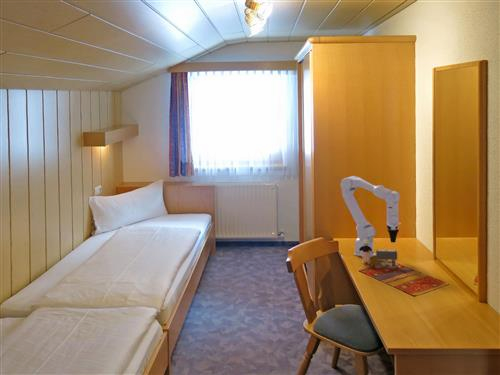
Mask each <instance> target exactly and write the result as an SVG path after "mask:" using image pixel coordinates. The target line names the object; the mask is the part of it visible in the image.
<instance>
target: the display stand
mask: <svg viewBox="0 0 500 375" xmlns="http://www.w3.org/2000/svg"><path fill="white" fill-rule="evenodd" d="M376 260H377V262H374V268H375V269H399V266H398V262H396V260H391V262H389V261H388V260H385V259H384V262H382V259H376Z"/></svg>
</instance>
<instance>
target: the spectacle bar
mask: <svg viewBox="0 0 500 375" xmlns="http://www.w3.org/2000/svg"><path fill="white" fill-rule="evenodd" d="M375 252H376V253H375V254H376V255H375V256H376V257H375V258H376V260H377V259H381V260H384V261H385V260H390V261H392V260H395V261H396V260H397V261H398V250H394V249H376V250H375Z"/></svg>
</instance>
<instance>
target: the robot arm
mask: <svg viewBox="0 0 500 375" xmlns="http://www.w3.org/2000/svg"><path fill="white" fill-rule="evenodd" d="M339 185H340V187H341V195H342V196H341V197H342V198H343V201H344V202H345V204H346V206H347V208H348V210H349V212H350V214H351V216H352V218H353V221H354V222H355V224H356V227H355V230H356V232H357V234H356V235H357V238H356V239H355V243H354V254H353V255H354V256H357V257H361V258H362V252H363V250H362V251H360V253H358V251H359V248H360V247H362V246H364V244H363V243H362V242H363V240H364V239H368V240H369V244H368V245H367V246H369V247H371V249H372V251H373V254H372V253H371V251H370V250H369V252H370V258H372V257H375V256H376V253H374V236H375V235H376V228H375V227H374V226H373V225H372V224H371V223H370V222H369V221H367V219H366V218H365V216H364V214H363V212H362V210H361V208H360V206H359V204H358V201H357V200H356V198H355V196H354V192H355V191H356V189H357V188H362V189H365V190H367V191H368V192H369V191H370V192H371V193H373V195H374V196H376V197H378V198H380V199H382V200H383V201H385V202H386V227H387V231H388V234H389V239H390V243H393V244H394V243H396V240H397V237H398V236H397V235H398V233H399V231H400V230H399V229H398V227H399V226H400V225H401V222H399V201H400V200H401V195H400V193H399V192H397V190H393V191H392V189H388V188H386V187H384V185H382V184H380V185H379V184H378V185H374V184H373V183H370V182H368V181H366V180H365V179H363V178H361V177H359V176H356V175H351V176H349V177H344V178H342V179H341V182H340V184H339Z"/></svg>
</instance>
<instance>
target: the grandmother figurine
mask: <svg viewBox="0 0 500 375" xmlns="http://www.w3.org/2000/svg"><path fill="white" fill-rule="evenodd" d="M362 243H363V244H364V246H362V247H360V248H359V251H358V253H360V251H362V250H363V252H362V257H361V258H362V264H363V265H366V264H368V265H370V264H372V261H371V257H370V252H369V250H370V251H371V253H372V254H373V253H374V250H373V251H372V249H371V247H369V246H367V245H368V244H369V240H368V239H364V240H363V242H362Z"/></svg>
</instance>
